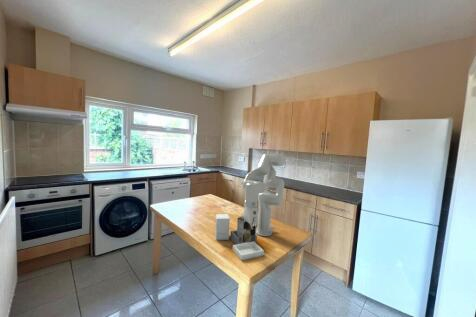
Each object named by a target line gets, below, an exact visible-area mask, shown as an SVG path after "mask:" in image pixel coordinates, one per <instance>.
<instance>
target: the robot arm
mask: <svg viewBox="0 0 476 317" xmlns="http://www.w3.org/2000/svg"><path fill="white" fill-rule="evenodd" d="M285 164H286V156H285V154H279V153H263V154H262V155H261V157H260V160H259V162H258V164H257V166H256V167H255V168H253V169H252V170H251V171H249V172H247V174H246V176H245V178H244V181H243V183H242V189H243V190H244V191H245V192H244V208H243V214H242V216H243V219H244V221H243V222H244V226H243V229H248V225H249V224H251V231H250V235H251V236H252V235H257V236H258V235H259V236H262V237H269V236H271V235H273V230H276V226H272V225H271V221H272V207H271V206H275V207H280V206H281V205H282V202H283V196H284V191H285V181H284V180H283V178H278V177H277V176H276V175H277V171H276V169H275V167H283V166H284V165H285ZM261 177H263V180H262V181H261V180H254V179H256V178H257V179H258V178H261ZM252 222H253V223H252Z"/></svg>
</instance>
